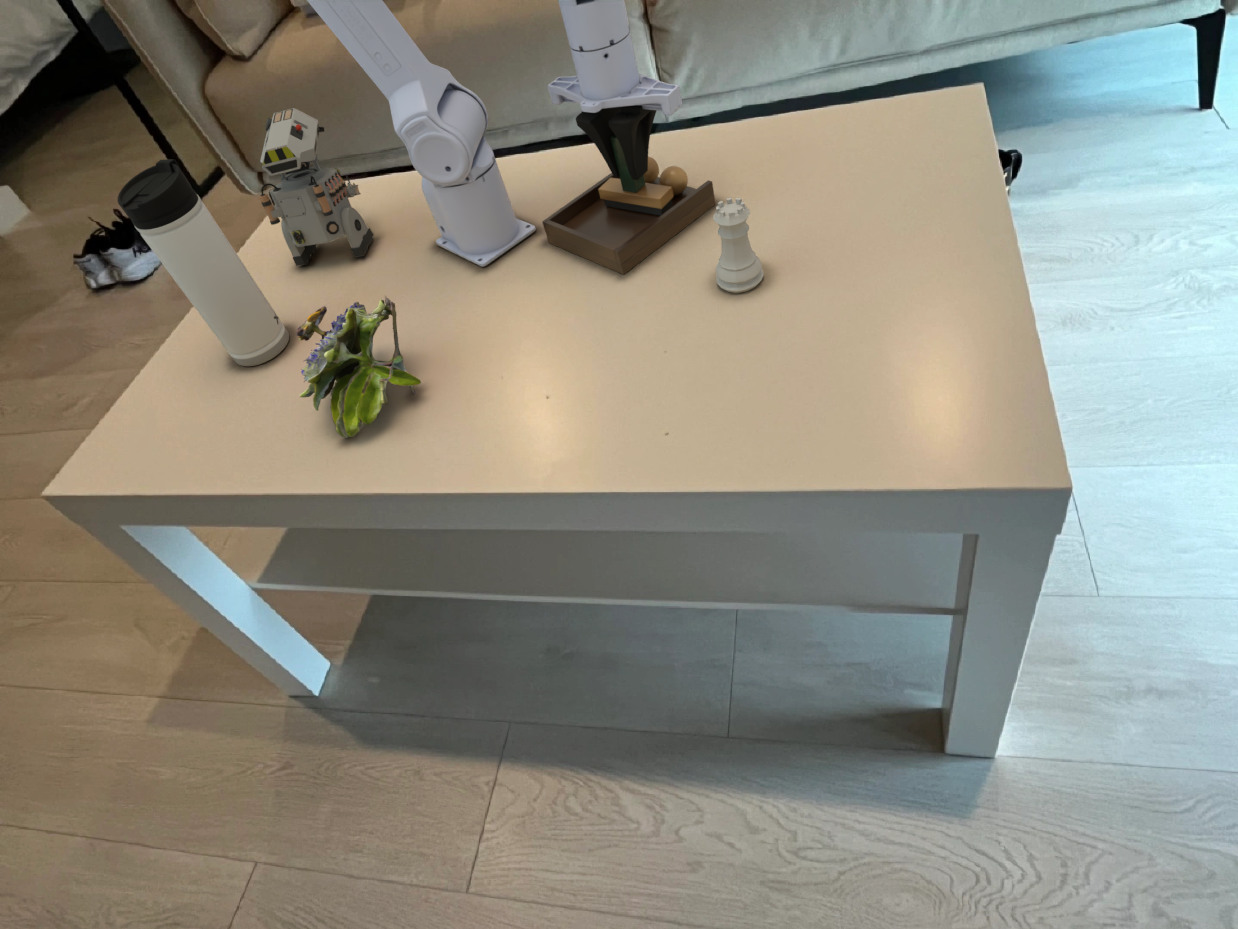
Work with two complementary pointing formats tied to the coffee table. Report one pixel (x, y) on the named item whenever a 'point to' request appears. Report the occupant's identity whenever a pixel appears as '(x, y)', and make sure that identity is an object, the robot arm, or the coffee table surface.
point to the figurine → (308, 190)
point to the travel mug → (203, 262)
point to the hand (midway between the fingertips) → (630, 173)
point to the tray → (622, 226)
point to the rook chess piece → (736, 249)
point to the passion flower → (352, 365)
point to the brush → (634, 189)
